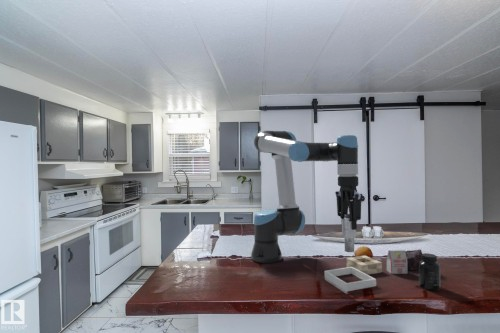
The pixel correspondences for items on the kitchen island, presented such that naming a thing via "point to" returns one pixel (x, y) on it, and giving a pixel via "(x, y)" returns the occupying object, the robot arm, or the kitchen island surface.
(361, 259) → the pin block
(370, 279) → the grey square frame
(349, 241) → the pin
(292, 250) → the kitchen island surface
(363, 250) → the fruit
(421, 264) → the supplement bottle
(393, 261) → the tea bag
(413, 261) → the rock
